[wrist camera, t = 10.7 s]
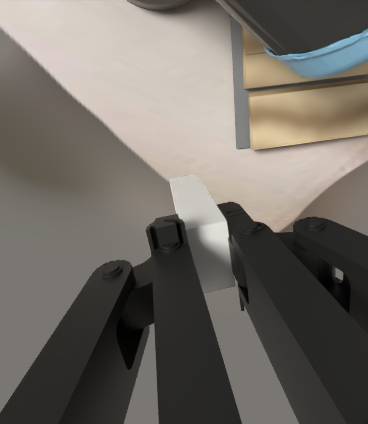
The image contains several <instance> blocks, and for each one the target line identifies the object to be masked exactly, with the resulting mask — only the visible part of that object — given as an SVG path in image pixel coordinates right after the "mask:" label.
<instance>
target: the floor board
mask: <svg viewBox="0 0 368 424" xmlns="http://www.w3.org/2000/svg"><path fill="white" fill-rule="evenodd" d="M242 46H243V77H244V89H249V88H257V87H265V86H273V85H282V84H290V83H298V82H306V81H315V80H323V79H331V78H339V77H347V76H356V75H364V74H368V61H366V62H364V63H363V64H361V65H359V66H357V67H355V68H353V69H350V70H348V71H346V72H343V73H341V74H338V75H334V76H331V77H326V78H320V79H313V78H307V77H301V76H298V75H296V74H295V73H293V72H292V71H291V70H290V69H289V68H288V67H286V66H285V65H284V64H283V63H282V62H281V61H280V60H278V59H276V58H273V57H271V56H270V55H268V54H267V52H266V51H265V50H264V46H263V45H261V44H260V43H259V42H258V41H257V40H256V39H255V38H254V37H253V36H252V35H251V34H250V33H249V32H248V31H247V30H246V29H245V28H244V27H243V26H242Z"/></svg>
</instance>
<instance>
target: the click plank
mask: <svg viewBox="0 0 368 424" xmlns="http://www.w3.org/2000/svg"><path fill="white" fill-rule="evenodd" d="M367 81H368V78H366V79H358V80H350V81H341V82H333V83H325V84H317V85H309V86H301V87H292V88H284V89H276V90H268V91H260V92H252V93H248V106H249V125H250V145H251V150H258V149H265V148H273V147H280V146H287V145H295V144H302V143H309V142H317V141H324V140H331V139H338V138H346V137H353V136H360V135H368V83H367Z"/></svg>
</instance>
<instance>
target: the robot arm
mask: <svg viewBox="0 0 368 424" xmlns="http://www.w3.org/2000/svg"><path fill="white" fill-rule="evenodd" d="M127 1H129V2H131V3H133V4H135V5H137V6H139V7H142V8H146V9H151V10H168V9H172V8H176V7H179V6H181V5H183V4H185V3H187V2H188V1H190V0H127ZM216 1H217V2H218V3H219V4H220V5H221V6H222V7H223V8H224V9H225V10H226V11H227V12H228V13H229V14H230V15H231V16H232V17H233V18H234V19H236V20H237V21H238V22H239V23H240V24H241V25H242V26H243V27H244V28H245V29H246V30H247V31H248V32H249V33H250V34H251V35H252V36H253V37H254V38H255V39H256V40H257V41H258V42H259V43H260V44H261V45H263V46H264V50H265V51H266V52H267V54H268V55H270V56H271V57H273V58H276V59H278V60H280V61H281V62H282V63H283V64H284V65H285V66H286V67H288V68H289V69H290V70H291V71H292V72H293V73H295V74H296V75H298V76H301V77H307V78H313V79H320V78H326V77H331V76H334V75H338V74H341V73H343V72H346V71H348V70H350V69H353V68H355V67H357V66H359V65H361V64H363V63H364V62H366V61H368V0H216ZM169 180H170V185H171V190H172V195H173V200H174V205H175V210H176V214H175V215H170V216H165V217H161V218H156V220H155V221H154V222H153V223H152V224H150V225H149V226H148V227H147V229H146V233H147V237H148V241H149V245H150V249H151V257H150V258H149V259H148V260H147V261H145V262H144V263H142V264H140V265H137V266H135V267H132V265H131V264H130V262H128V261H125V260H116V261H110V262H108V263H105V264H103V265H102V266H100V267H99V268H97V269H96V270H95V271H94V272H93V273H92V275H91V276H90V278H89V279H88V281H87V282H86V284H85V285H84V287H83V288H82V290H81V292H80V293H79V295H78V296H77V298H76V299H75V301H74V302H73V304H72V305H71V307H70V308H69V310H68V311H67V313H66V314H65V316H64V317H63V319H62V320H61V322H60V323H59V325H58V326H57V328H56V329H55V331H54V333H53V334H52V335H51V337H50V339H49V340H48V341H47V343H46V344H45V346H44V348H43V349H42V351H41V352H40V354H39V355H38V357H37V358H36V360H35V361H34V363H33V364H32V366H31V367H30V369H29V370H28V372H27V373H26V375H25V376H24V378H23V379H22V381H21V382H20V384H19V385H18V387H17V388H16V390H15V392H14V393H13V395H12V396H11V397H10V399H9V400H8V402H7V404H6V405H5V407H4V408H3V410H2V411H1V413H0V424H124V420H125V417H126V413H127V409H128V406H129V402H130V399H131V395H132V392H133V388H134V385H135V381H136V378H137V374H138V371H139V367H140V364H141V360H142V356H143V353H144V349H145V346H146V342H147V339H148V335H149V328H150V327H149V325H151V324H153V323H154V325H155V348H156V369H157V390H158V391H157V392H158V414H159V424H242V422H241V419H240V415H239V412H238V409H237V405H236V402H235V399H234V395H233V392H232V389H231V385H230V382H229V378H228V375H227V372H226V368H225V365H224V361H223V358H222V355H221V352H220V348H219V345H218V341H217V338H216V334H215V331H214V328H213V325H212V321H211V318H210V314H209V311H208V308H207V304H206V301H205V297H204V294H203V293H208V292H212V291H217V290H221V289H225V288H230V287H234V286H235V279H234V276H235V278H236V280H237V282H238V289H239V297H240V304H241V311H244V306H245V308H246V310H247V312H248V314H249V316H250V319H251V321H252V323H253V325H254V327H255V329H256V332H257V334H258V336H259V338H260V340H261V342H262V344H263V347H264V349H265V351H266V353H267V355H268V357H269V360H270V362H271V364H272V366H273V368H274V370H275V373H276V375H277V377H278V379H279V381H280V383H281V385H282V388H283V390H284V392H285V394H286V396H287V398H288V400H289V403H290V405H291V407H292V409H293V411H294V413H295V415H296V418H297V420H298V422H299V424H368V236H366V235H364V234H361V233H359V232H357V231H354V230H352V229H350V228H347V227H345V226H343V225H340V224H338V223H336V222H333V221H331V220H328V219H325V218H317V217H307V218H304V219H300V220H298V221H296V222H295V223H294V225H293V232H285V233H274V232H273V231H272V230H271V229H270V228H269V227H268V226H267V225H266V224H264V223H261V222H254V221H253V220H252V219H251V218H250V216H249V215H248V214H246V212H245V210H243V208H242V207H241V206H240V205H239V204H237V203H234V202H227V203H222V204H218V205H216V203H215V202H214V200H213V199H212V197H211V196H210V194H209V193H208V191H207V189H206V188H205V186H204V185H203V183H202V182H201V180H200V178H199V177H198V175H197V174H191V175H186V176H181V177H176V178H172V179H169ZM335 267H336V268H338V269H339V270H341V271H342V272H343V281H342V280H340V279H338V278H336V277H335Z"/></svg>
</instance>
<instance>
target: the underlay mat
mask: <svg viewBox="0 0 368 424" xmlns="http://www.w3.org/2000/svg"><path fill="white" fill-rule="evenodd" d="M231 35H232V57H233V80H234V103H235V125H236V148H237V149H241V148H249V147H251V145H250V125H249V106H248V93H252V92H260V91H268V90H276V89H284V88H292V87H301V86H309V85H317V84H325V83H333V82H341V81H350V80H358V79H366V78H368V74H364V75H356V76H347V77H339V78H331V79H323V80H315V81H306V82H298V83H290V84H282V85H273V86H265V87H257V88H249V89H244V77H243V46H242V25H241V24H240V23H239V22H238V21H237V20H236V19H234V18H233V17H232V16H231ZM367 83H368V81H367Z"/></svg>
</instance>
